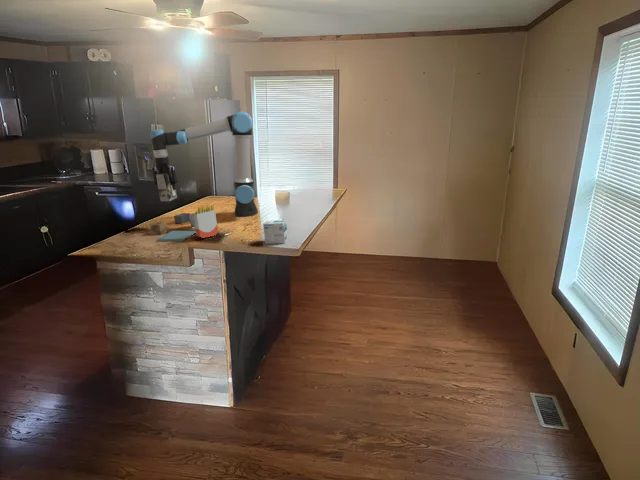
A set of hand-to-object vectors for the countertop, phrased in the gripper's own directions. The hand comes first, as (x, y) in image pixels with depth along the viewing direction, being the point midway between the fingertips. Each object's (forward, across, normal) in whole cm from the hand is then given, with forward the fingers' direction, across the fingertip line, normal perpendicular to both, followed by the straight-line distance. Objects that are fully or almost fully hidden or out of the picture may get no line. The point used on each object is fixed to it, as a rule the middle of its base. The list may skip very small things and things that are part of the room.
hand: (168, 195), depth 261 cm
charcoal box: (+20, 0, +12) cm, 23 cm away
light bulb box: (+20, +75, -30) cm, 83 cm away
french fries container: (+20, +33, -22) cm, 44 cm away
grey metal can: (+20, +15, 0) cm, 25 cm away
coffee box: (+3, 0, 0) cm, 3 cm away
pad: (+20, +14, -20) cm, 31 cm away
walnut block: (+20, -2, -13) cm, 24 cm away
